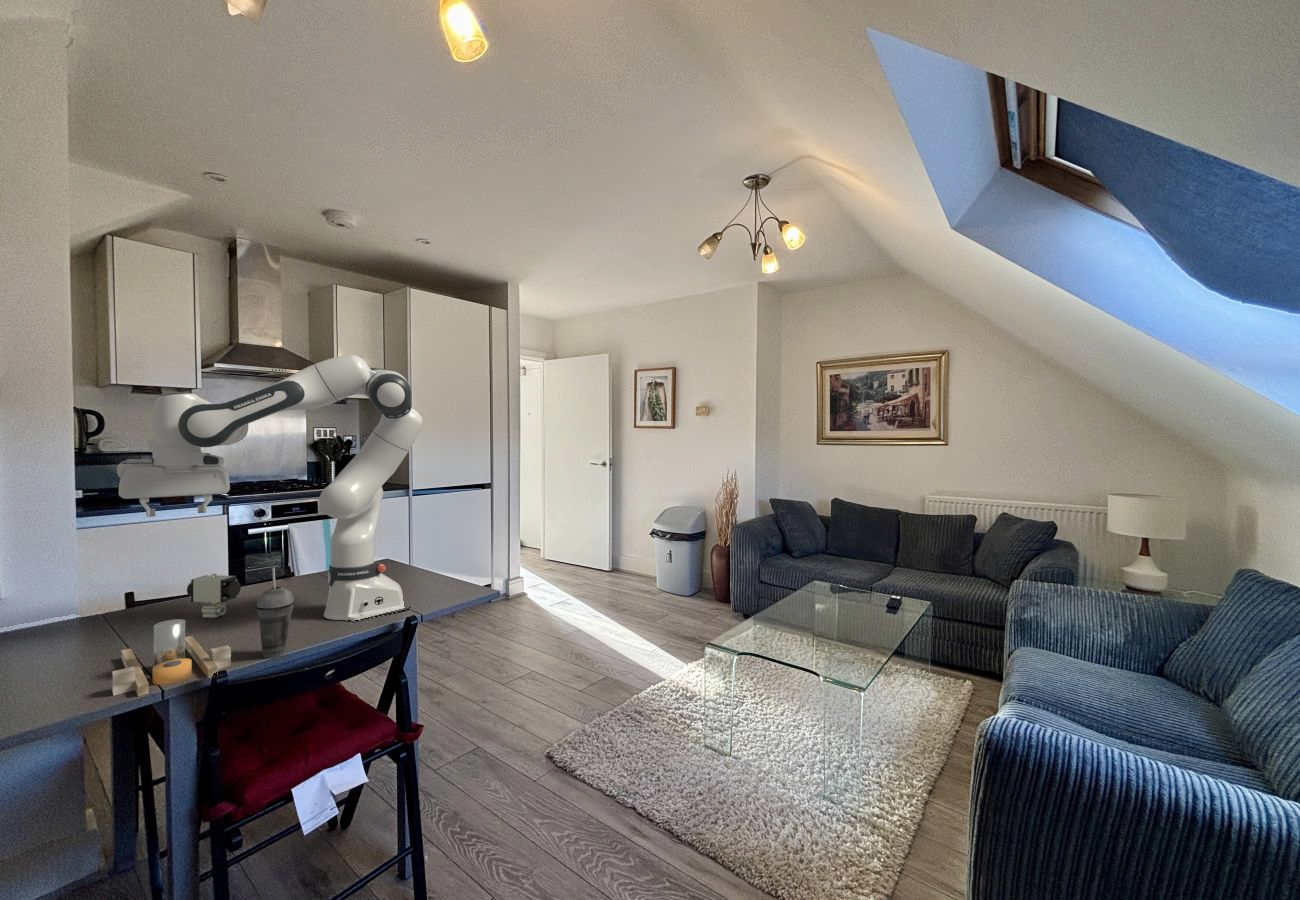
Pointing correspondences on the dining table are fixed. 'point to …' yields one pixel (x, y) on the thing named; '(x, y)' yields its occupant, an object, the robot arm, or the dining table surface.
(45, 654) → the dining table surface
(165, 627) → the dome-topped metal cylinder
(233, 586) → the pneumatic valve
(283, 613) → the beverage cup
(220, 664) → the guide track
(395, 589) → the robot arm
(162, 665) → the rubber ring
